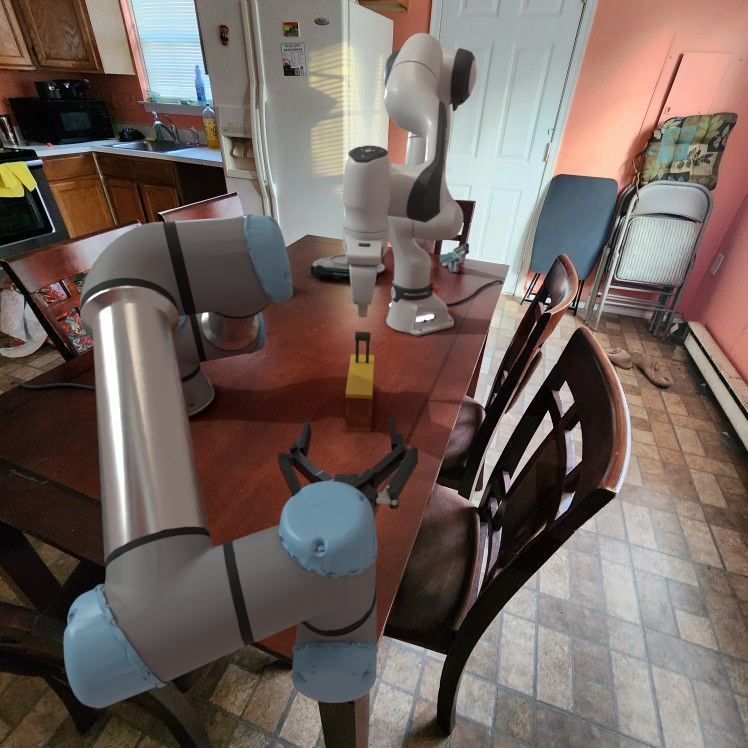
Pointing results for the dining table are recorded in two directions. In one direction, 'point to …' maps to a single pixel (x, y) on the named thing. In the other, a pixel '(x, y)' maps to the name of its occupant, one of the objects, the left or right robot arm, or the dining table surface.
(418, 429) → the dining table surface
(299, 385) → the dining table surface
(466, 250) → the toy gun
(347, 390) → the lid
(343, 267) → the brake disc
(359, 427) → the chest
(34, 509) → the dining table surface
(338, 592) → the left robot arm
